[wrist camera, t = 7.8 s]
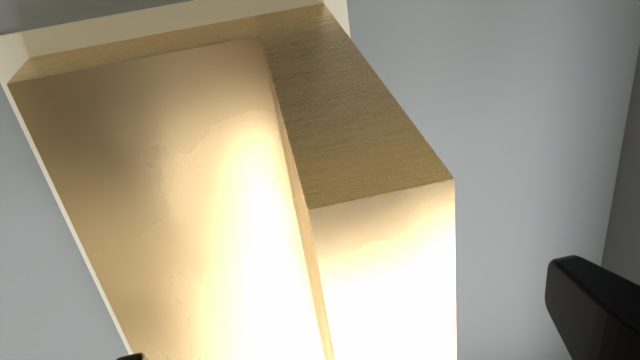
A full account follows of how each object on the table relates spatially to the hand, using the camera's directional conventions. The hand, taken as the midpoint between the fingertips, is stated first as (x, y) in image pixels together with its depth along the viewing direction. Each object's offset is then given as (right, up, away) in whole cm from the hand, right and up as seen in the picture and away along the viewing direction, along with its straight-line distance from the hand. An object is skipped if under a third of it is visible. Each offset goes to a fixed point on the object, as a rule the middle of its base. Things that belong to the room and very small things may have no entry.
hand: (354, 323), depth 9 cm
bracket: (-2, +1, +3) cm, 4 cm away
